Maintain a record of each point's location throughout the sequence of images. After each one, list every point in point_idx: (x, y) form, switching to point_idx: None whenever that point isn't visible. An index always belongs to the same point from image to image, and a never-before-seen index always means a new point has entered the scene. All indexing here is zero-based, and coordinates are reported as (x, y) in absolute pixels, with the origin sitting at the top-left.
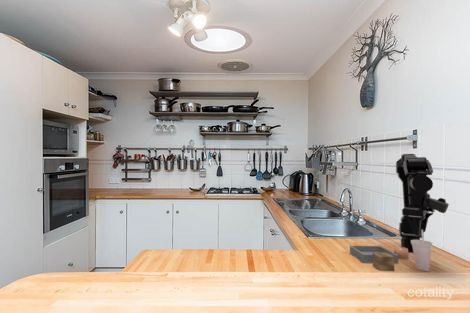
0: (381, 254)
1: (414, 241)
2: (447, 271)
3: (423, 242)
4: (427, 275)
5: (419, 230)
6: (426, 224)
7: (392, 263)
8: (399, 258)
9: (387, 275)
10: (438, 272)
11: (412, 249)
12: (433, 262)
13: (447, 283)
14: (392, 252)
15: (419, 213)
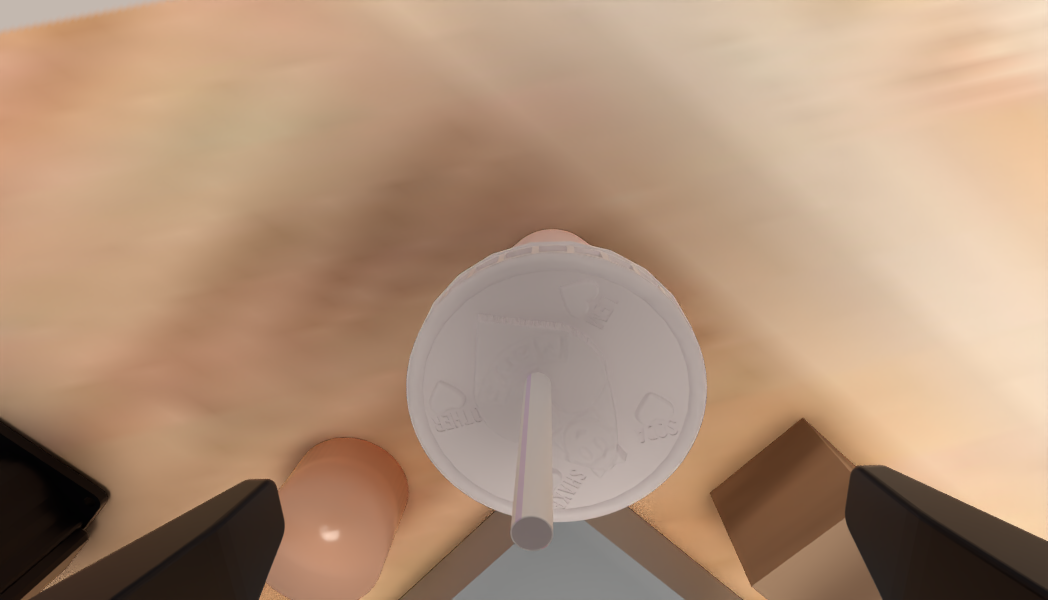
0: (860, 593)
1: (603, 473)
2: (443, 104)
3: (601, 361)
4: (721, 203)
5: (1018, 533)
6: (98, 596)
7: (845, 463)
8: (406, 488)
9: (964, 419)
10: (547, 156)
11: (45, 489)
12: (247, 264)
13: (837, 20)
14: (505, 560)
15: None
